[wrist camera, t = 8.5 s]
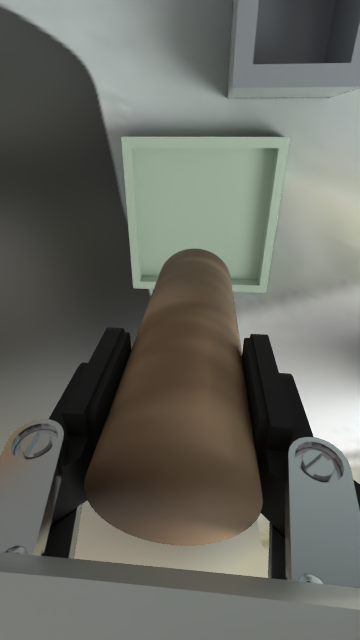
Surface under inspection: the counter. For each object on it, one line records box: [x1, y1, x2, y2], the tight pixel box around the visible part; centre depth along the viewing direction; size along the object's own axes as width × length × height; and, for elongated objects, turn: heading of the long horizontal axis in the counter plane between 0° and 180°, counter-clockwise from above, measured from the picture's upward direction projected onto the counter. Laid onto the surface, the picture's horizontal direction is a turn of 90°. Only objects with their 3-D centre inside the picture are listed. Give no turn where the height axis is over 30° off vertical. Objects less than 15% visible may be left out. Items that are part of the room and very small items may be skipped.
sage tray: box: [121, 137, 290, 293], centre depth 31 cm, size 14×14×2 cm
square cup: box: [227, 0, 360, 98], centre depth 21 cm, size 8×8×7 cm
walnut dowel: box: [84, 248, 263, 545], centre depth 12 cm, size 4×4×12 cm
